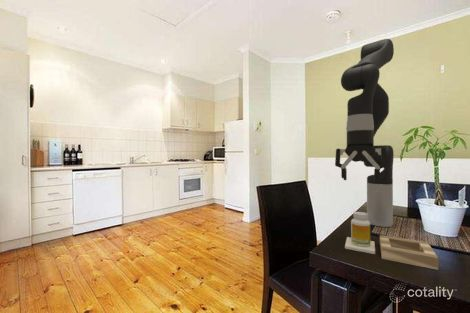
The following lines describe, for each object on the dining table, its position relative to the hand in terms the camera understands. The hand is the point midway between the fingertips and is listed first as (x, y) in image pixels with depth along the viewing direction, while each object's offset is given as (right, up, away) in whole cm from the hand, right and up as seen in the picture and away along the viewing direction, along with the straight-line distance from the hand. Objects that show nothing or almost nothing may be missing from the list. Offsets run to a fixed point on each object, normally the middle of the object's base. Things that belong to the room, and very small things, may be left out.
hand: (359, 180), depth 71 cm
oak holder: (+9, -21, -7) cm, 24 cm away
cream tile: (0, -21, 0) cm, 21 cm away
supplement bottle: (0, -20, 0) cm, 20 cm away
